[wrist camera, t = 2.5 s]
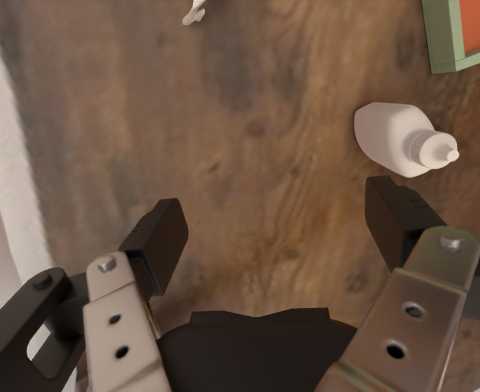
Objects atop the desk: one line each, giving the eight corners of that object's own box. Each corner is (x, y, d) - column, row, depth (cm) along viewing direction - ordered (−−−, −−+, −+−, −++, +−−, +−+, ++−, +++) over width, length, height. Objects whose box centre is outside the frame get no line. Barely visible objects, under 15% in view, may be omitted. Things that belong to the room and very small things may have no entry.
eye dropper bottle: (400, 103, 27) (506, 110, 16) (386, 159, 29) (472, 200, 18) (355, 100, 27) (430, 105, 16) (345, 157, 29) (405, 196, 18)
